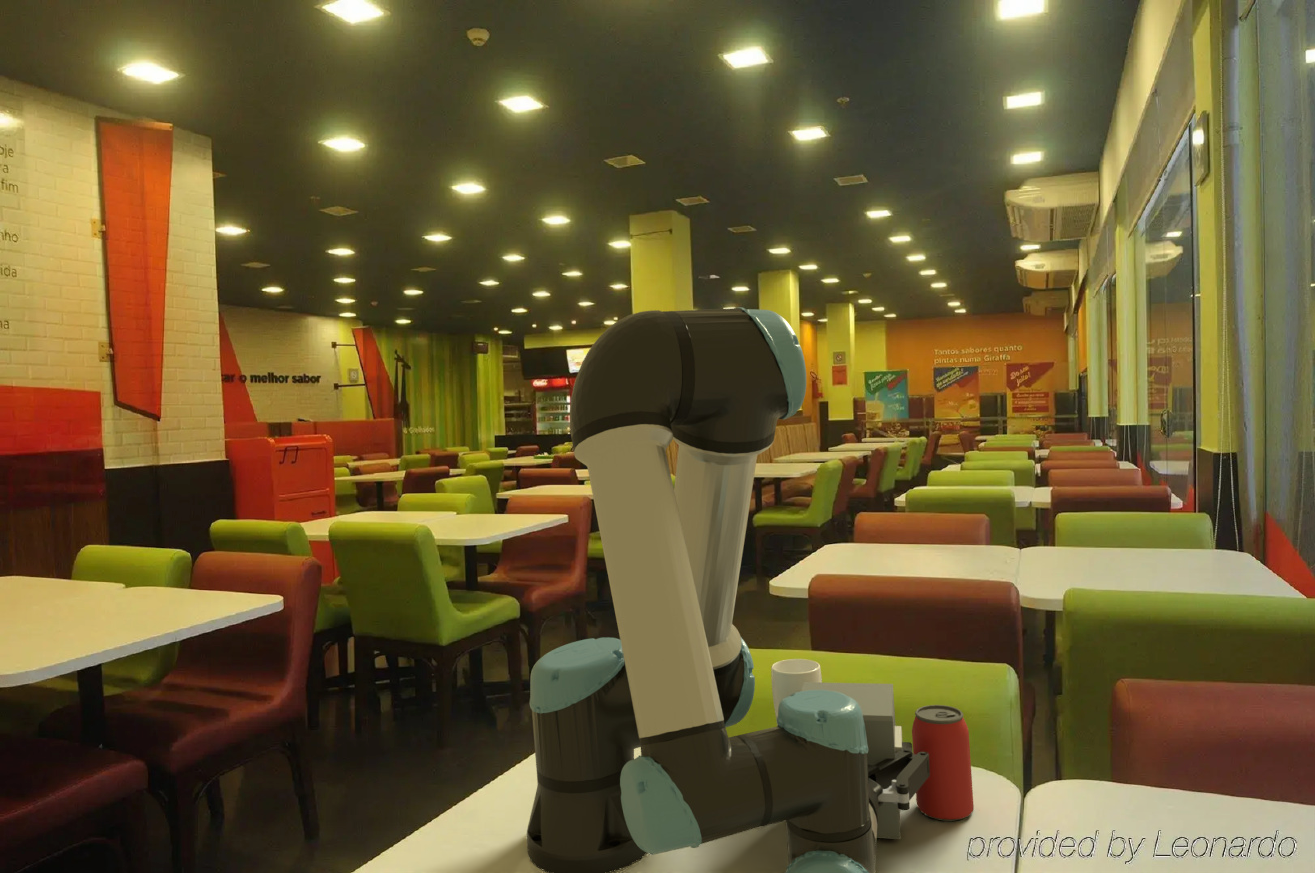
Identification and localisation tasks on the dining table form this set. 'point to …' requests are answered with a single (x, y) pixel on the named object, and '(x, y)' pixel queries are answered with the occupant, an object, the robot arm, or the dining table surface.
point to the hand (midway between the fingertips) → (850, 734)
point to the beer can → (944, 762)
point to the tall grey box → (874, 736)
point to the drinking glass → (792, 678)
